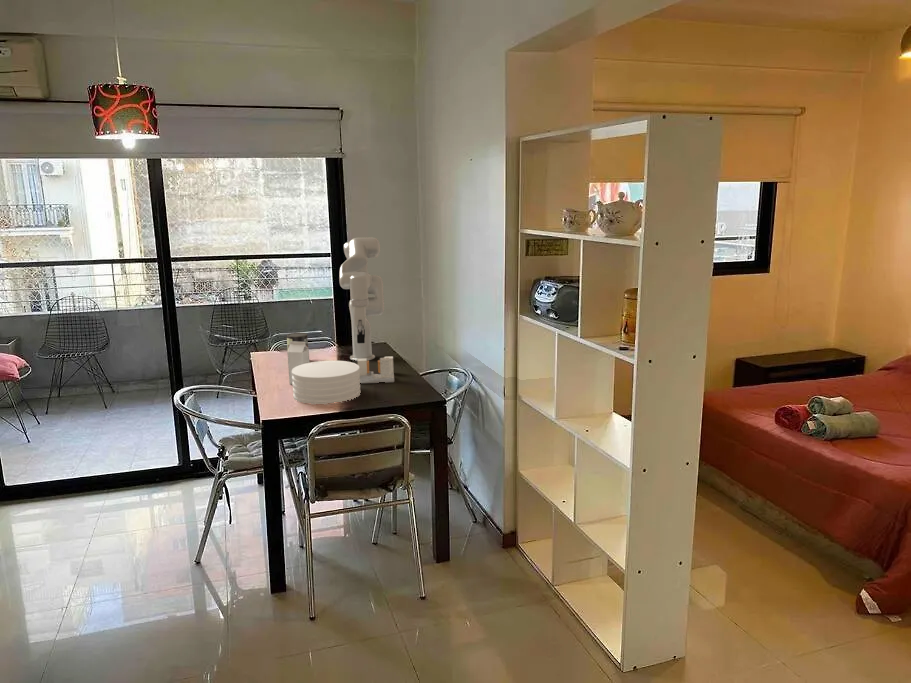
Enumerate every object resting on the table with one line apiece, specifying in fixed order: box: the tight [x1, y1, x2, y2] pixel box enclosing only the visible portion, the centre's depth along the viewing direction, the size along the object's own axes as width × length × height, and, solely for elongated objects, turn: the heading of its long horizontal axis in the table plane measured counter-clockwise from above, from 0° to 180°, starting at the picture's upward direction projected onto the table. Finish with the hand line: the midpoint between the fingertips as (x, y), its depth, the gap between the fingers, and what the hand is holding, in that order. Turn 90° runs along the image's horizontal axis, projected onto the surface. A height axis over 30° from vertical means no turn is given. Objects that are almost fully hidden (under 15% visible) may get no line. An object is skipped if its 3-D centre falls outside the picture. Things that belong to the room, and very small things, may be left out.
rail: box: [360, 357, 395, 384], centre depth 307 cm, size 8×24×10 cm, turn 96°
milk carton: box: [287, 341, 311, 385], centre depth 304 cm, size 7×7×19 cm
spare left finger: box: [383, 356, 395, 374], centre depth 319 cm, size 4×5×8 cm
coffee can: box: [286, 332, 309, 350], centre depth 343 cm, size 10×10×14 cm
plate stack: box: [291, 360, 361, 405], centre depth 287 cm, size 28×28×12 cm
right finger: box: [356, 358, 370, 376], centre depth 307 cm, size 4×5×8 cm
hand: (361, 340), depth 304 cm, fingers open, 9 cm apart
